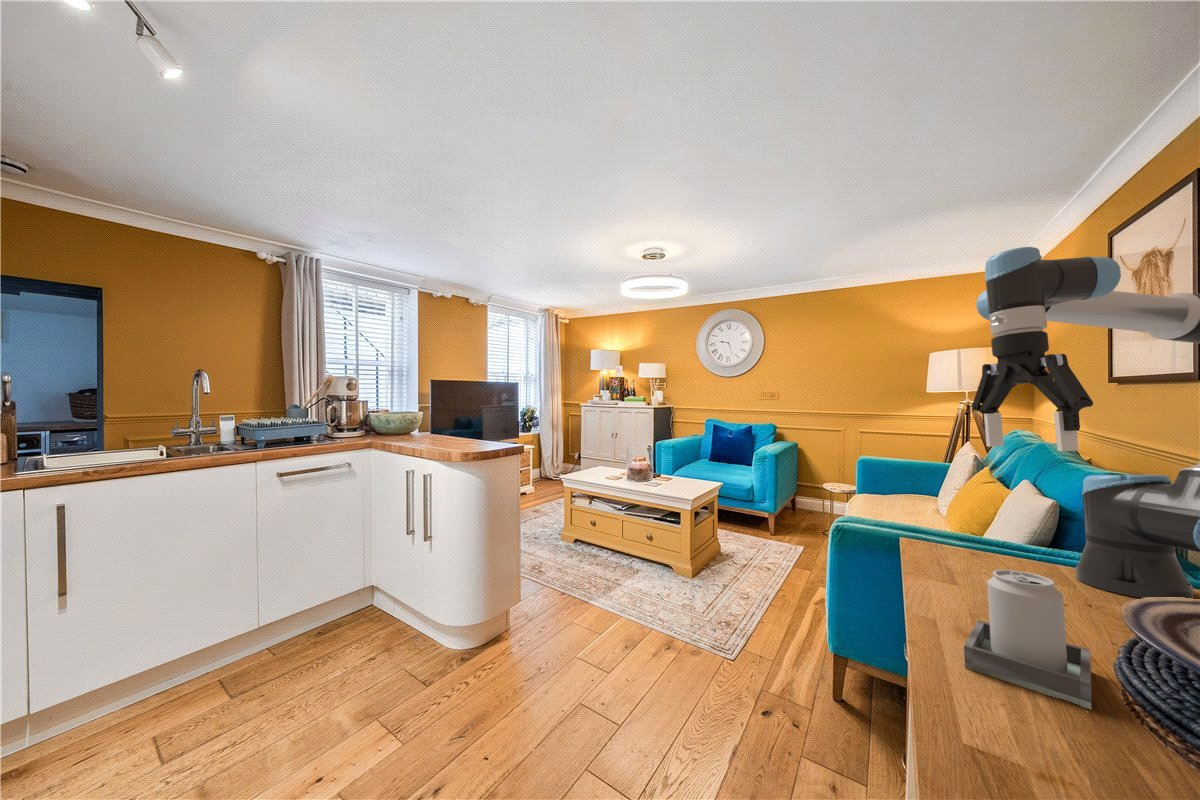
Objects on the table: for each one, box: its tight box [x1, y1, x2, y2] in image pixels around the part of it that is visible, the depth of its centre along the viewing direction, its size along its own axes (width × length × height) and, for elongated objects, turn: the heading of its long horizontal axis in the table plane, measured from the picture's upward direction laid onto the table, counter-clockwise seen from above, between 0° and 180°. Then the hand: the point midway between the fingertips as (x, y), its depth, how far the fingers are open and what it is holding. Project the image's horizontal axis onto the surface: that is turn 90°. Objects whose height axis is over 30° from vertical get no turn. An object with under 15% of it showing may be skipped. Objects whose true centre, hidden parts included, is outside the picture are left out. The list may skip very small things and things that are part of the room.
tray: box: [963, 619, 1092, 711], centre depth 59 cm, size 12×12×3 cm
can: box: [986, 569, 1068, 673], centre depth 59 cm, size 8×8×12 cm
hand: (1028, 448), depth 78 cm, fingers open, 13 cm apart
